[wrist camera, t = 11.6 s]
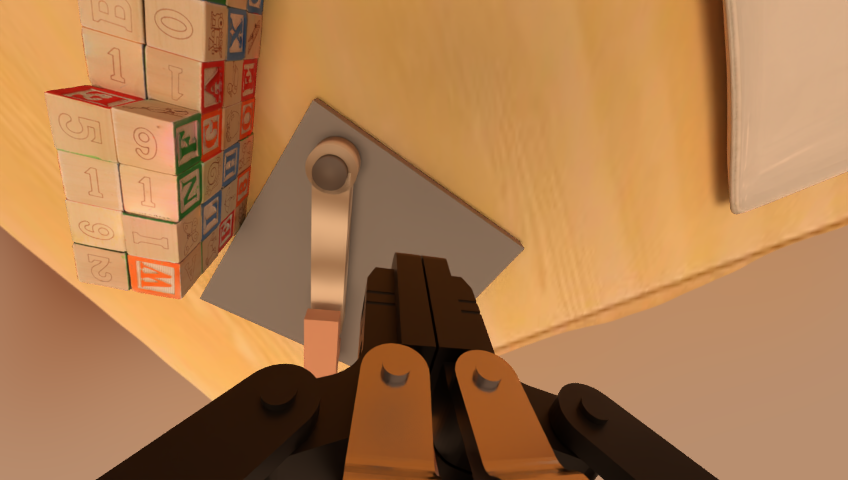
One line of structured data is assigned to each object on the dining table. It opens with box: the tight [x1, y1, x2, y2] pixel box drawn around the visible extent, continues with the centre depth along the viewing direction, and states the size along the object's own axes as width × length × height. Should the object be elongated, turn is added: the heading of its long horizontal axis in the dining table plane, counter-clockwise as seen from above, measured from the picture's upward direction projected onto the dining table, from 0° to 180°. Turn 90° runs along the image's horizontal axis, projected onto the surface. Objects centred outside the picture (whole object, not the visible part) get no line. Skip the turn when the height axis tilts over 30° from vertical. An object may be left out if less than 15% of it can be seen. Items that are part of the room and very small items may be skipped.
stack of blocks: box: [44, 0, 263, 299], centre depth 24 cm, size 21×6×12 cm, turn 163°
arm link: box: [305, 136, 361, 334], centre depth 32 cm, size 19×4×4 cm, turn 171°
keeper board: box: [200, 98, 524, 378], centre depth 35 cm, size 24×24×8 cm
